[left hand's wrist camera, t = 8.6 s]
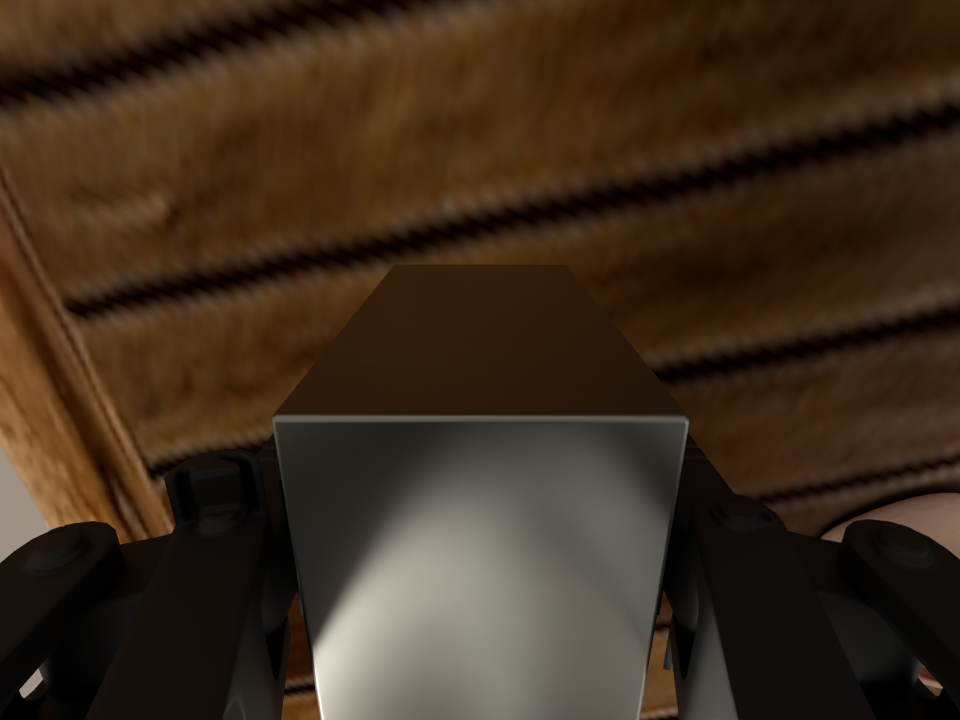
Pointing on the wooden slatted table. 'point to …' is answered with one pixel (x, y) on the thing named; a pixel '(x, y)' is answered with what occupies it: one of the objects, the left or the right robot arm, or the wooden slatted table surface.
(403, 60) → the wooden slatted table surface
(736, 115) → the wooden slatted table surface
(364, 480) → the bar
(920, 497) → the anatomical model
